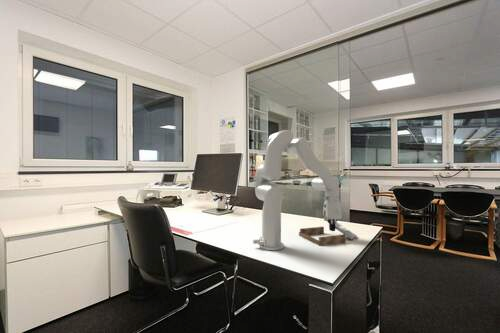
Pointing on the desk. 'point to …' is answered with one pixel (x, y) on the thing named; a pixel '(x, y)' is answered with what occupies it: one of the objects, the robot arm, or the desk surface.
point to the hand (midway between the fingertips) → (332, 230)
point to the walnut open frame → (322, 240)
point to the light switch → (345, 231)
